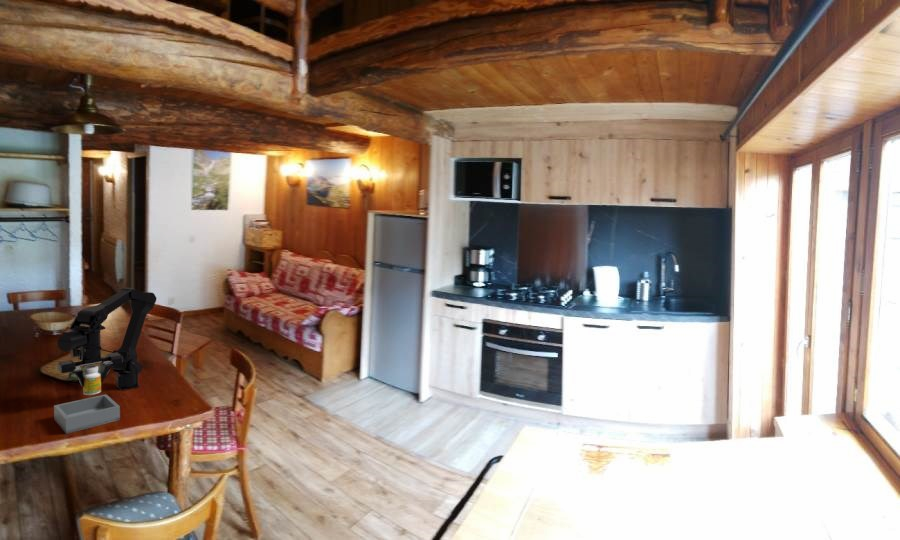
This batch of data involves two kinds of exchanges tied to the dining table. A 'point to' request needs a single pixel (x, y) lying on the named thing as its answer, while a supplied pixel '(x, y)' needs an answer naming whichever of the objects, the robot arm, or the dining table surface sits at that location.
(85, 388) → the supplement bottle
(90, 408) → the tote
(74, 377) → the vegetable
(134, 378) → the robot arm
